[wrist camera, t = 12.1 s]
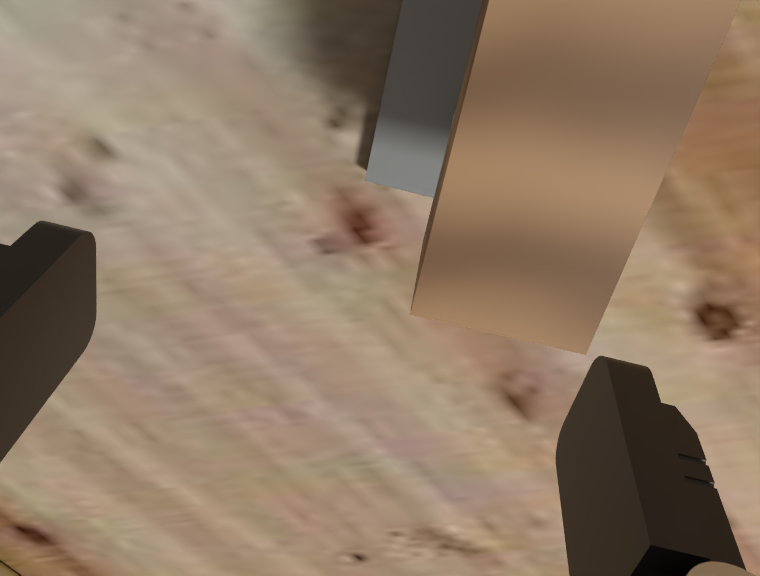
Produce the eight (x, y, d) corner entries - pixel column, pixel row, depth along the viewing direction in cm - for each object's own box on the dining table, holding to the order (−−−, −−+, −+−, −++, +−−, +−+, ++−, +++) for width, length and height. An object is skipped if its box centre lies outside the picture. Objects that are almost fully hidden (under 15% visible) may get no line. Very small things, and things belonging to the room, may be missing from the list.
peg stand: (611, 231, 35) (634, 315, 29) (367, 172, 35) (341, 243, 29) (841, -291, 24) (952, -324, 18) (482, -378, 24) (477, -440, 18)
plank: (571, -360, 18) (591, -410, 14) (804, -310, 18) (893, -346, 14) (422, 241, 29) (410, 314, 24) (572, 275, 28) (585, 354, 24)
